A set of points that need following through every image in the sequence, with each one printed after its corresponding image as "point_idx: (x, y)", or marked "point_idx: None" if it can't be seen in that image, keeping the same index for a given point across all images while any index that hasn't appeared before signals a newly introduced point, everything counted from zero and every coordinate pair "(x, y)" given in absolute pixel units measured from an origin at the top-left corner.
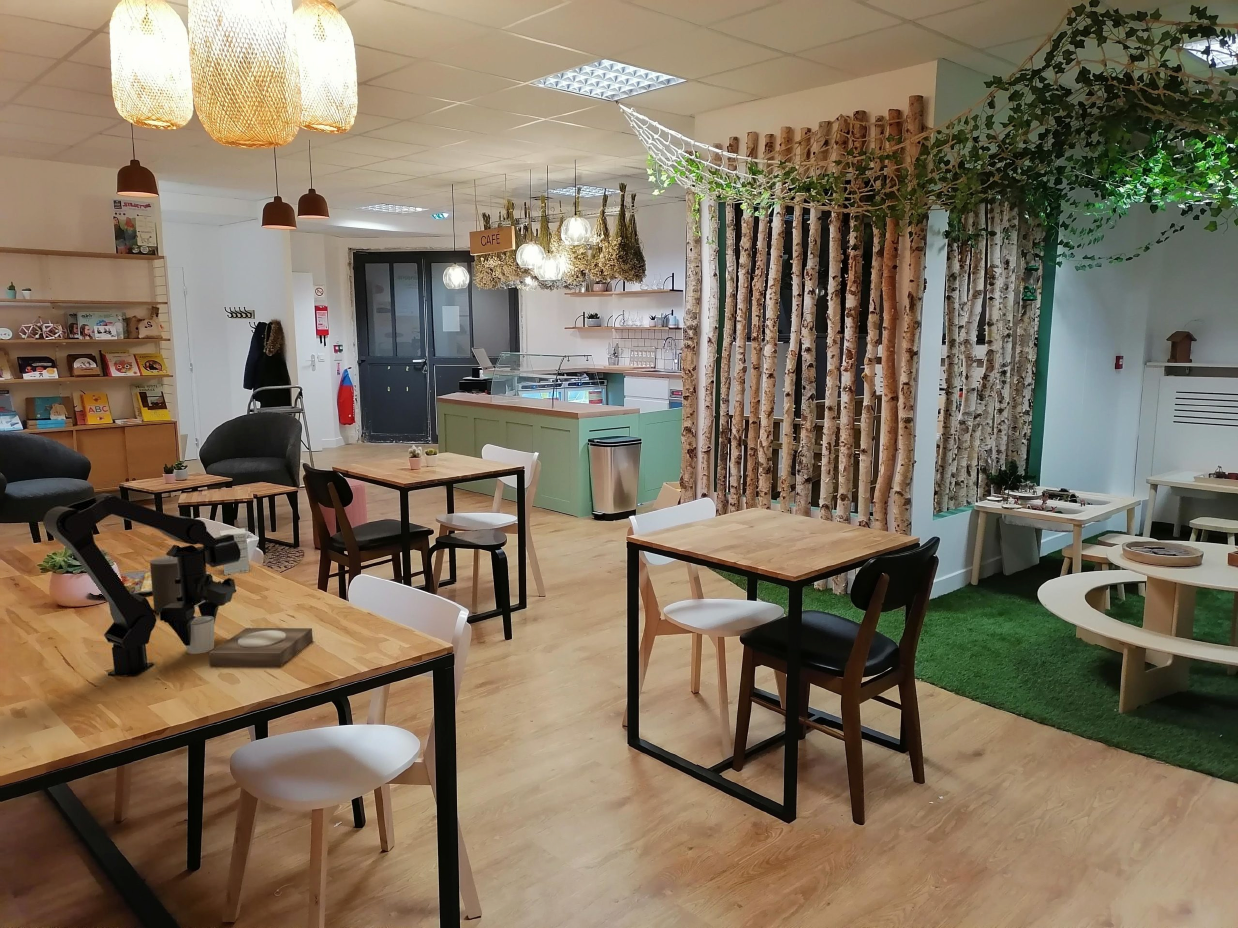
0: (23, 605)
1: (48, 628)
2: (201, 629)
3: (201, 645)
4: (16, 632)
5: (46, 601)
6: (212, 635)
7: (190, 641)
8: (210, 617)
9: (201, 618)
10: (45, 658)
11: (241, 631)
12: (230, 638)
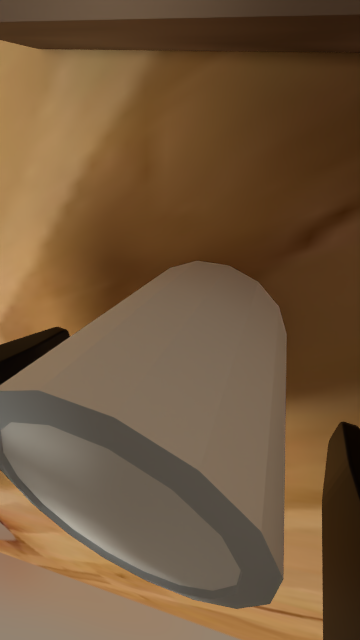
0: (21, 555)
1: (82, 565)
2: (259, 444)
3: (279, 338)
4: (104, 587)
5: (3, 540)
6: (174, 302)
7: (351, 442)
8: (8, 423)
9: (53, 482)
10: (232, 615)
11: (20, 10)
12: (285, 11)
